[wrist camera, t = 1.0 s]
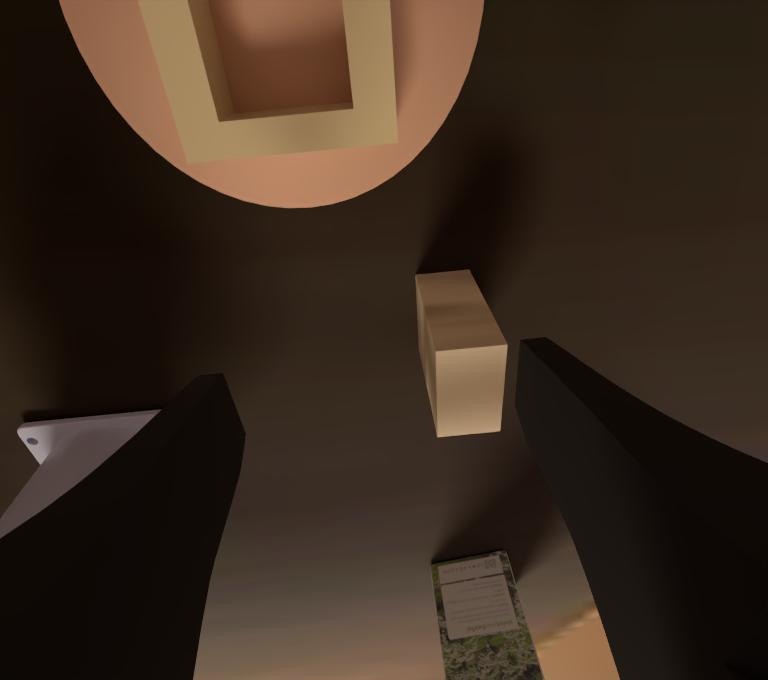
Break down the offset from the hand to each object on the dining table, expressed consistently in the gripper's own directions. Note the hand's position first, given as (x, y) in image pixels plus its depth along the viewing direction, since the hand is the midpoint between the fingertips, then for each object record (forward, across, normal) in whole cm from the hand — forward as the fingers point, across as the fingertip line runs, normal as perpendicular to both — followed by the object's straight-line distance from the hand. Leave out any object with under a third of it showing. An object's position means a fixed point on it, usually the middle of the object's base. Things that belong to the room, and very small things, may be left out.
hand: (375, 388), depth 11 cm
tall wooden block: (+10, -3, +4) cm, 11 cm away
